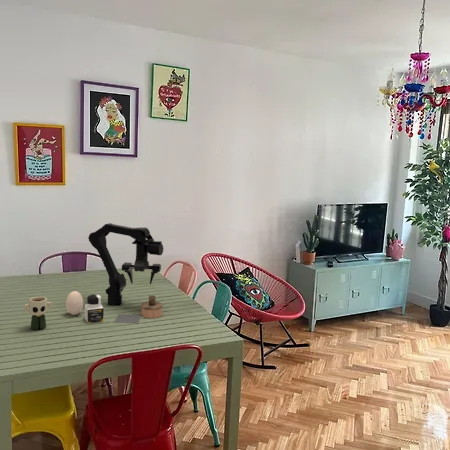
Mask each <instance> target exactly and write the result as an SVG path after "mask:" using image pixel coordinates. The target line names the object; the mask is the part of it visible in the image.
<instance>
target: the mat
mask: <svg viewBox="0 0 450 450" xmlns="http://www.w3.org/2000/svg"><path fill="white" fill-rule="evenodd" d="M142 317H143V316H142V315H141V314H129V313H128V314H125V313H118V315H117V316H116V317H115V320H113V323H116V324H119V323H121V324H137V325H138V324H139V322H140V320H141V318H142Z"/></svg>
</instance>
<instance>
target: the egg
mask: <svg viewBox="0 0 450 450" xmlns="http://www.w3.org/2000/svg"><path fill="white" fill-rule="evenodd" d="M83 308H84V299H83V297H82V294H81V293H80V292H79V291H76V290H73V291H71V292H70V293H69V294H68V295H67V297H66V299H65V309H66V311H67V312H68V313H69V314H70V315H73V316H76V315H79V314H80V313H81V312H82V310H83Z"/></svg>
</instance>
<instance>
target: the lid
mask: <svg viewBox="0 0 450 450" xmlns="http://www.w3.org/2000/svg"><path fill="white" fill-rule="evenodd" d="M163 305H164V304H163V303H162V302H159V301H157V300H156V295H148V301H145V302H142V303H141V309H142V308H143V309H146V310H158V309H161V308H162V309H163Z"/></svg>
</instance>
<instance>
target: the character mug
mask: <svg viewBox="0 0 450 450" xmlns="http://www.w3.org/2000/svg"><path fill="white" fill-rule="evenodd" d="M48 305H49V306H48ZM23 307H24V310H23V311H24V312H25V313H26V312H29V314H30V315H31V320H30V328H31V329H33V330H39V328H40V330H43V329H45V328H46V327H47V321H46V316H45V314H46V313H47V311H48V310H52V308H53V305H52V302H51V301H48V298H47V297H46V296H34V297H30V298H29V301H28V303H26V304H24V305H23Z"/></svg>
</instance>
